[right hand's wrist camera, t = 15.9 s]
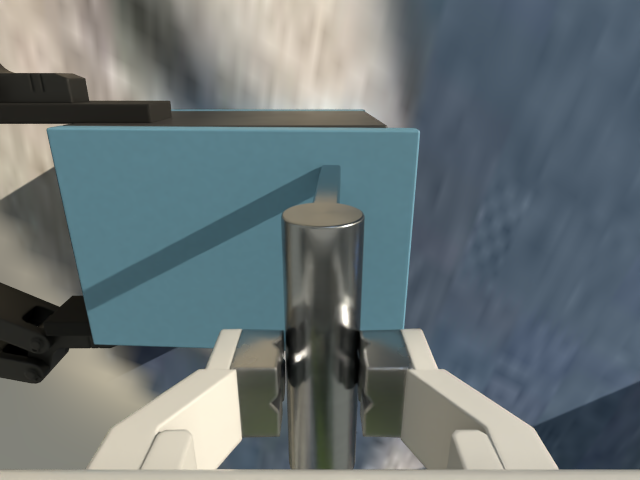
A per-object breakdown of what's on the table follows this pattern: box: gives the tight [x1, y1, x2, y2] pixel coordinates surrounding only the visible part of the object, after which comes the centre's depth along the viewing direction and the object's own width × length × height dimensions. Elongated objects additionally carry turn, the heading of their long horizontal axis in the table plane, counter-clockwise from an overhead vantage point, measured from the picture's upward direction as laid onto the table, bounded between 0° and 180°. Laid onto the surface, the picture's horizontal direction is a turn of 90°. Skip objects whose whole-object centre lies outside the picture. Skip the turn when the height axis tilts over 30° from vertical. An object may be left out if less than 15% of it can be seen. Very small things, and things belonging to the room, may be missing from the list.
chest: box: [63, 110, 387, 128], centre depth 22 cm, size 13×9×9 cm
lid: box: [47, 126, 420, 470], centre depth 14 cm, size 14×9×8 cm
